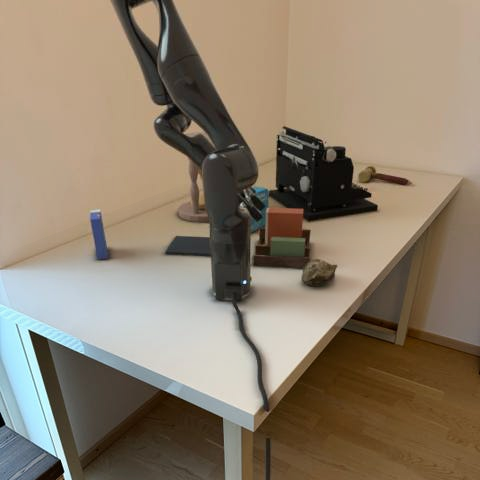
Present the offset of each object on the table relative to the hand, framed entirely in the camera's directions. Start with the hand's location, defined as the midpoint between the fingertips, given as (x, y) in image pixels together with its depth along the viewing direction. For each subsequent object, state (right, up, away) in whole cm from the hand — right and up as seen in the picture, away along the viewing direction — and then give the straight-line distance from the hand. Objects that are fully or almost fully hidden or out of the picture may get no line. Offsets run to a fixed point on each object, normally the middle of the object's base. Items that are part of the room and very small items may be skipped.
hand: (261, 213), depth 128 cm
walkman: (-45, -11, +5) cm, 47 cm away
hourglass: (-18, +8, +33) cm, 39 cm away
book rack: (+6, -11, +3) cm, 13 cm away
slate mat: (-16, -8, +8) cm, 20 cm away
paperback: (+7, -14, -2) cm, 16 cm away
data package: (-2, 0, +21) cm, 21 cm away
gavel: (+54, +27, +64) cm, 88 cm away
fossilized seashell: (+14, -20, -11) cm, 27 cm away
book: (+6, -10, +5) cm, 12 cm away
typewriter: (+23, +13, +42) cm, 50 cm away
